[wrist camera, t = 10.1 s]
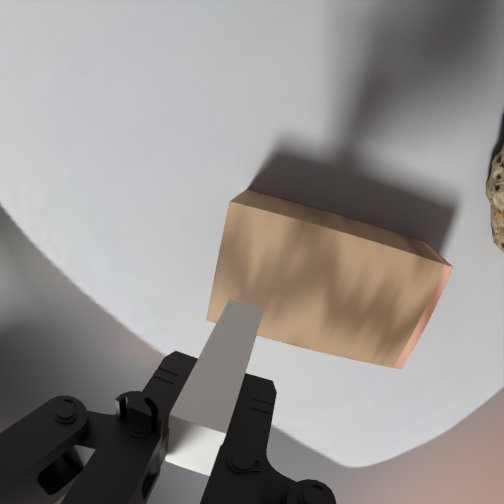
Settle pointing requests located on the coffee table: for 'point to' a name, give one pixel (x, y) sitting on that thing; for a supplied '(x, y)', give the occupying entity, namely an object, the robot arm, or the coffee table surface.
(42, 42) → the coffee table surface
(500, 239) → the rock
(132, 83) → the coffee table surface
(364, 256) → the light brown wooden block
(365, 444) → the coffee table surface
